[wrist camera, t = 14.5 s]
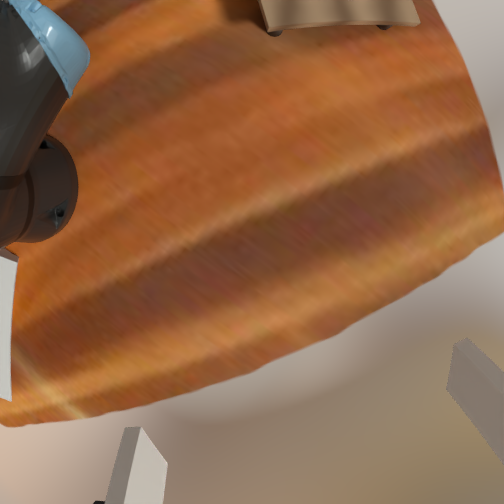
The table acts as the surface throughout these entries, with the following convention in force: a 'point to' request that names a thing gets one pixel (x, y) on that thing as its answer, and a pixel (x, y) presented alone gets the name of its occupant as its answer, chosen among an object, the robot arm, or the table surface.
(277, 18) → the small wooden table
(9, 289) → the decorative molding
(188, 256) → the table surface
